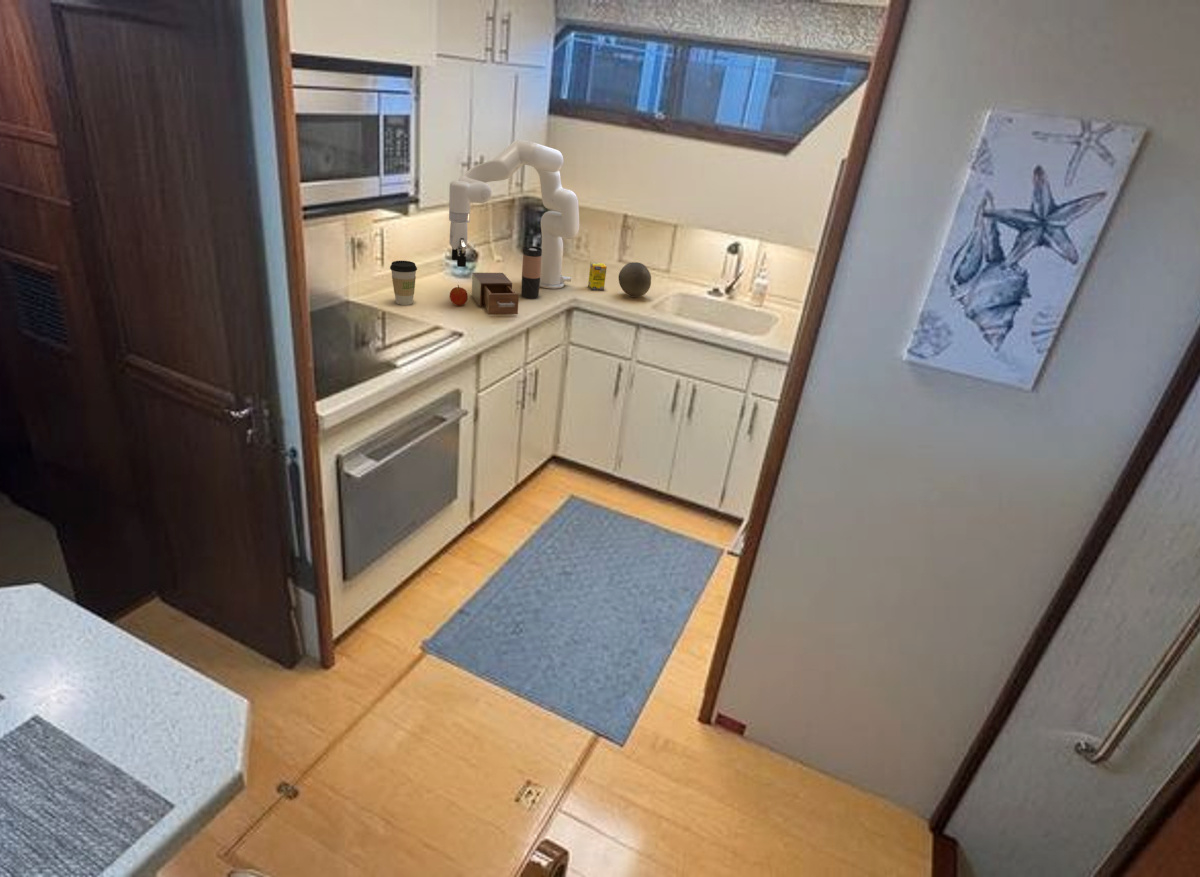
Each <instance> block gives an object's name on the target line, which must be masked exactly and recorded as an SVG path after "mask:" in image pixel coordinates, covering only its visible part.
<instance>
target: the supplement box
mask: <svg viewBox="0 0 1200 877" xmlns="http://www.w3.org/2000/svg"><path fill="white" fill-rule="evenodd" d="M606 275H607V266H606V265H605V263H603V262H600V263H599V262H590V264H589V272H588V283H587V287H588V288H589V289H590V290H591V291H602V292H604V291H605V284H606V277H607V276H606Z"/></svg>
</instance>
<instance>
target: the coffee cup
mask: <svg viewBox="0 0 1200 877" xmlns="http://www.w3.org/2000/svg"><path fill="white" fill-rule="evenodd" d="M389 269H390V270H391V281H392V286H393V293H394V298H395V303H396V304H398V305H400V306H411V305H413V304H414V294H415V289H416V288H415V287H416V275H417V274H416V272H417V270H418V267H417V265H416V263H415V262H414V261H411V260H395V261H392V262H391V264H390V266H389Z"/></svg>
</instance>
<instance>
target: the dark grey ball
mask: <svg viewBox="0 0 1200 877" xmlns="http://www.w3.org/2000/svg"><path fill="white" fill-rule="evenodd" d="M618 284H619V286H620V288H621V289H622V291H623V292H624V293H625V294H626V295H628V296H629V297H632V298H639V297H640V298H641V297H642V296H644V295H646V294H647V293H649V290H650V289H651V286H652V274H651V272H650V270H649V269H648V267H647V266H646V265H645V264H643V263H641V262H627V263H626V264H625V265H624V266H623V267H622V268H621V269H620V271H619V272H618Z"/></svg>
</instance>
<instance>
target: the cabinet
mask: <svg viewBox="0 0 1200 877" xmlns="http://www.w3.org/2000/svg"><path fill="white" fill-rule="evenodd" d="M471 274H472V275H471V297H472V299H473V300H474V301H475V302H476V304H477V305H478V307H479V308H486V307H485V306H484V304H483V303H482V292H483V285H509V286H510V288H511V289H512V290H513V281H511V280H510V279H509V277H507V276H506V274H505V273H503V272H471Z"/></svg>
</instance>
